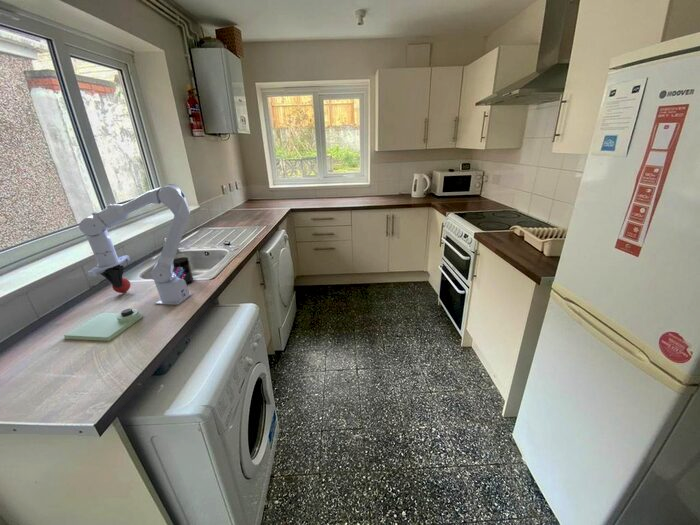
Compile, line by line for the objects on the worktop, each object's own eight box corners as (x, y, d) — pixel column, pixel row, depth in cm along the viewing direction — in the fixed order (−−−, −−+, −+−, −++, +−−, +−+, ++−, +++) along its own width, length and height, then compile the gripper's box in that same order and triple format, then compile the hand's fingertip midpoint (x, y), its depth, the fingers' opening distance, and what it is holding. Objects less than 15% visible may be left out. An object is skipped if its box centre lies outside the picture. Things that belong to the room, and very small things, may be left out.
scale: (144, 316, 101) (141, 309, 100) (110, 341, 88) (107, 333, 87) (104, 315, 103) (100, 308, 102) (65, 338, 91) (61, 331, 90)
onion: (123, 297, 115) (116, 279, 112) (112, 296, 117) (104, 278, 114) (136, 290, 121) (129, 273, 118) (125, 289, 122) (118, 272, 119)
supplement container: (175, 282, 126) (168, 260, 122) (191, 277, 130) (185, 256, 126) (179, 287, 122) (172, 264, 118) (196, 281, 126) (190, 259, 122)
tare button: (135, 312, 99) (133, 308, 98) (127, 317, 96) (126, 313, 95) (127, 312, 99) (125, 308, 98) (120, 317, 96) (118, 313, 96)
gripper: (112, 244, 105) (125, 277, 110) (72, 259, 91) (89, 296, 97) (129, 244, 104) (142, 277, 109) (92, 259, 90) (108, 296, 96)
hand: (118, 286), depth 103 cm, fingers closed
